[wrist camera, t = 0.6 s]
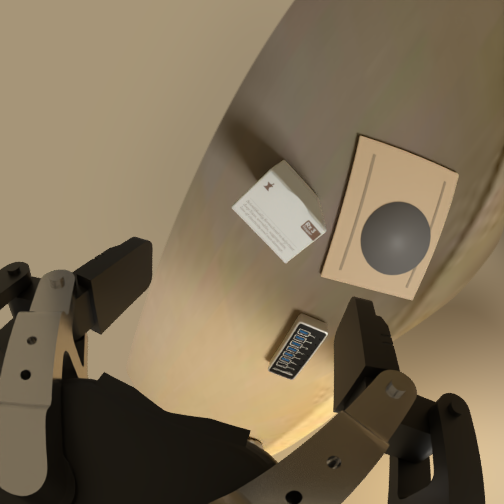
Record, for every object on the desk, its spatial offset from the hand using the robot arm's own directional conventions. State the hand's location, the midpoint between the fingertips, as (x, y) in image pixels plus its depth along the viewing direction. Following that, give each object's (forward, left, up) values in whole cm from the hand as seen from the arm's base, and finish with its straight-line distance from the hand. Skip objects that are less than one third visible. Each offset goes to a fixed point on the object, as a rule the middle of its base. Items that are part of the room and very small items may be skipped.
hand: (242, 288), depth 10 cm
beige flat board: (+1, +12, -22) cm, 25 cm away
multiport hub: (+21, +6, -23) cm, 31 cm away
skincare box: (0, 0, -22) cm, 22 cm away
